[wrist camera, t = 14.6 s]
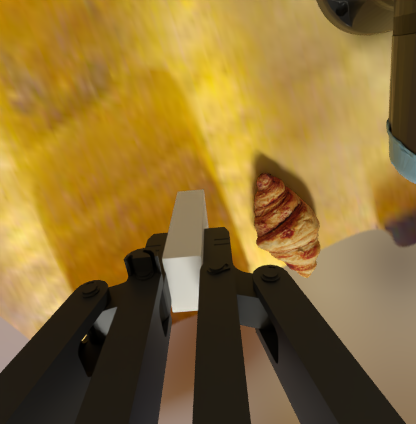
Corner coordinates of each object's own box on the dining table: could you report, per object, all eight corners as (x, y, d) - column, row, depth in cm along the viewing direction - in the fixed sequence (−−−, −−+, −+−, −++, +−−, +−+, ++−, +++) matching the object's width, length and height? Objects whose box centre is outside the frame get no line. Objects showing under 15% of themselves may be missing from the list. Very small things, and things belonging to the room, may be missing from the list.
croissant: (314, 251, 57) (350, 267, 50) (275, 286, 55) (307, 308, 48) (270, 155, 49) (306, 158, 42) (222, 191, 46) (251, 201, 39)
